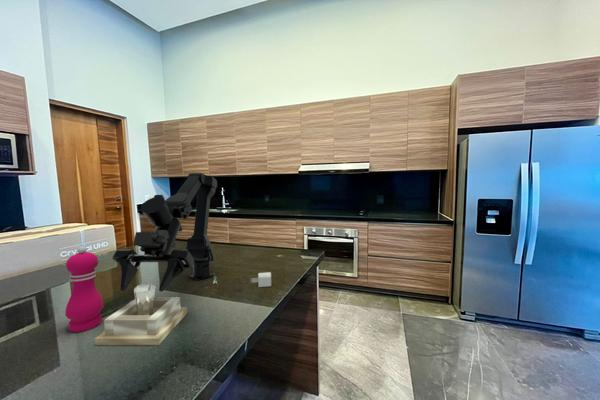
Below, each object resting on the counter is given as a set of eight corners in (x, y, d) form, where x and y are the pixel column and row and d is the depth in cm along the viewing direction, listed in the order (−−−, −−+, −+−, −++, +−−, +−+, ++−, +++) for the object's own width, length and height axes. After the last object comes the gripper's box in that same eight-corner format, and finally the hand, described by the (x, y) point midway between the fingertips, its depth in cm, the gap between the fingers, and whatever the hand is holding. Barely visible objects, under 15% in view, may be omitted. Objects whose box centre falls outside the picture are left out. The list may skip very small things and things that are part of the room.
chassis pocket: (136, 312, 69) (136, 294, 68) (187, 312, 69) (187, 294, 68) (95, 345, 55) (93, 323, 54) (158, 345, 55) (157, 323, 54)
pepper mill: (81, 318, 66) (77, 243, 65) (110, 316, 67) (107, 242, 65) (57, 334, 59) (52, 250, 58) (90, 332, 59) (86, 250, 58)
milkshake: (141, 328, 58) (139, 286, 58) (132, 321, 62) (130, 281, 61) (161, 320, 62) (160, 280, 62) (151, 313, 65) (150, 276, 65)
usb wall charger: (271, 287, 86) (271, 275, 86) (250, 288, 85) (250, 277, 85) (270, 282, 90) (270, 271, 90) (251, 283, 89) (251, 272, 89)
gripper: (115, 218, 64) (80, 276, 54) (188, 218, 64) (166, 276, 54) (137, 241, 72) (109, 295, 62) (201, 241, 72) (184, 295, 62)
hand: (141, 291), depth 60 cm, fingers open, 9 cm apart
